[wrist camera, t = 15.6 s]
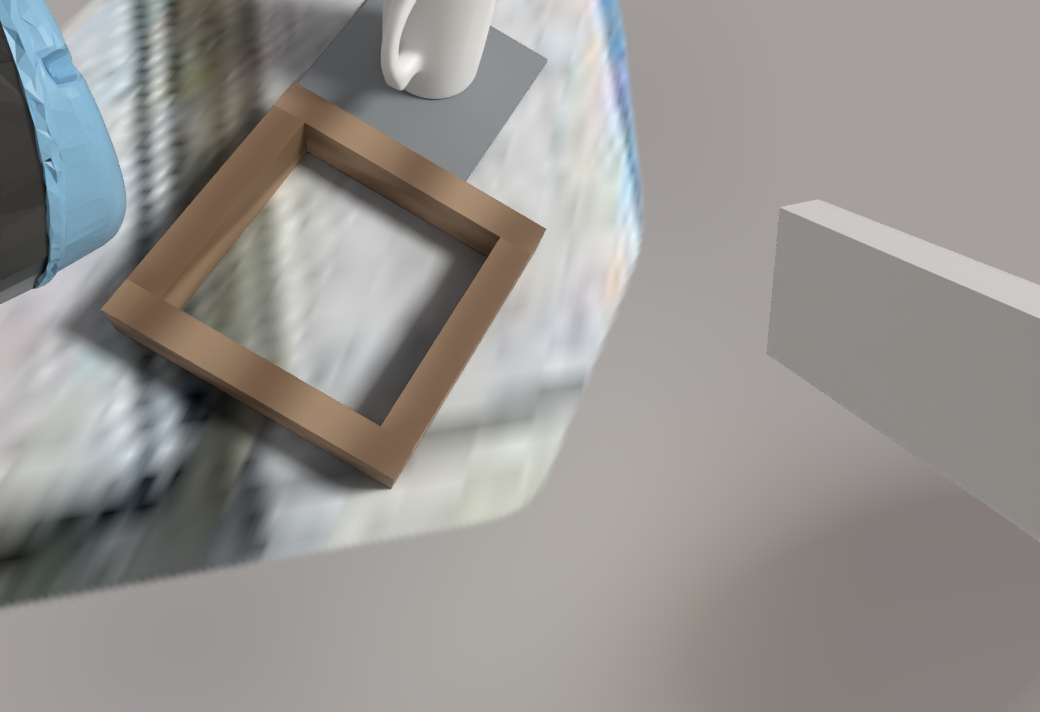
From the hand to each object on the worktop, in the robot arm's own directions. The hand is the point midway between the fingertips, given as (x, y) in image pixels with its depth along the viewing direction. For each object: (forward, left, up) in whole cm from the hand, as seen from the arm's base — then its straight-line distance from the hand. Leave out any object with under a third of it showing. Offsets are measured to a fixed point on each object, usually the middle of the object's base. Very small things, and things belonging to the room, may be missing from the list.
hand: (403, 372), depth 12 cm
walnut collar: (-9, +12, -32) cm, 35 cm away
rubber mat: (-13, +27, -32) cm, 44 cm away
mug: (-13, +27, -32) cm, 43 cm away
